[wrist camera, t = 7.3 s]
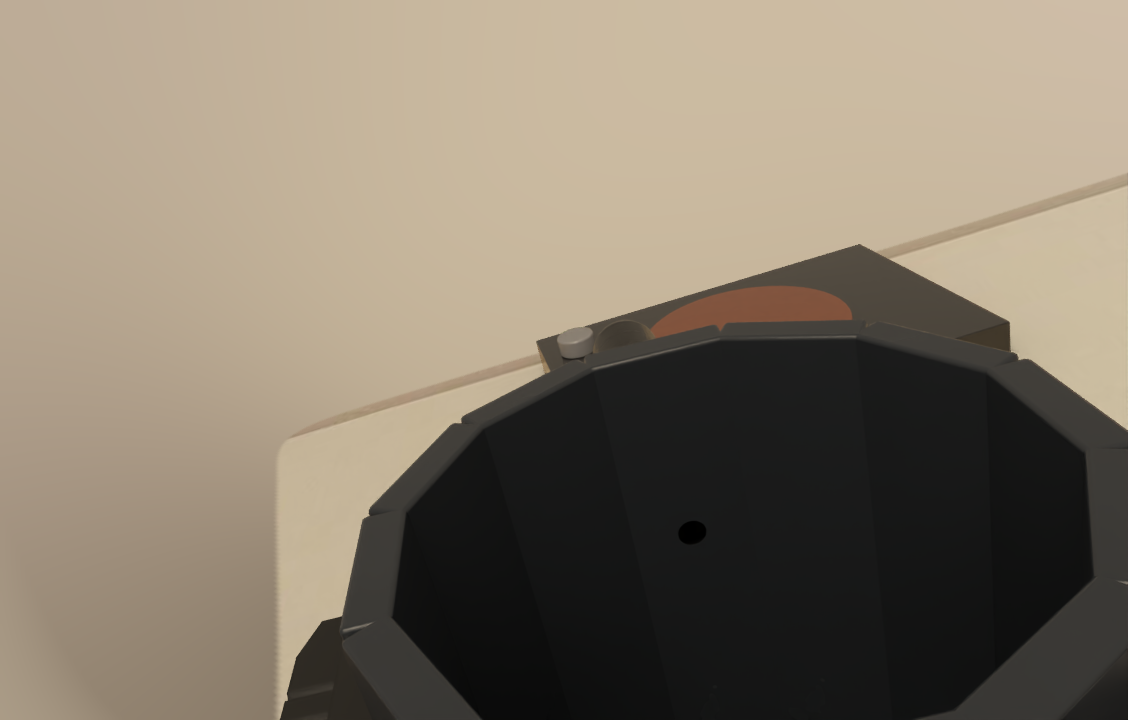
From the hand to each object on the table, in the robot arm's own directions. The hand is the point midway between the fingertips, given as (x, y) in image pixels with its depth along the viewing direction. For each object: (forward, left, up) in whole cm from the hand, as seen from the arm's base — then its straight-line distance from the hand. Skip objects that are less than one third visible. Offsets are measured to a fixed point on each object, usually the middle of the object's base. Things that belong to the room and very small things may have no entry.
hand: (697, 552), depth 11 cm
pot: (0, 0, -7) cm, 7 cm away
